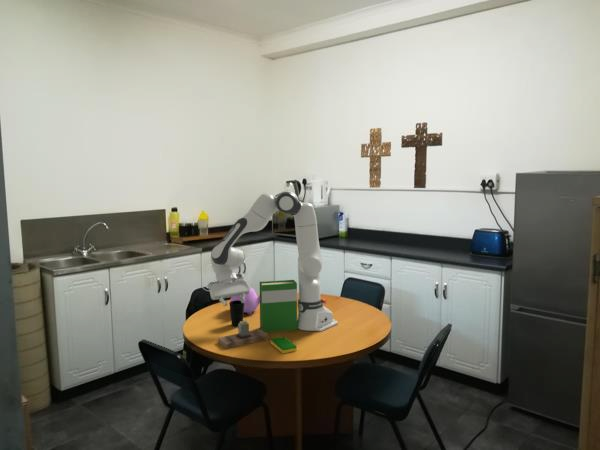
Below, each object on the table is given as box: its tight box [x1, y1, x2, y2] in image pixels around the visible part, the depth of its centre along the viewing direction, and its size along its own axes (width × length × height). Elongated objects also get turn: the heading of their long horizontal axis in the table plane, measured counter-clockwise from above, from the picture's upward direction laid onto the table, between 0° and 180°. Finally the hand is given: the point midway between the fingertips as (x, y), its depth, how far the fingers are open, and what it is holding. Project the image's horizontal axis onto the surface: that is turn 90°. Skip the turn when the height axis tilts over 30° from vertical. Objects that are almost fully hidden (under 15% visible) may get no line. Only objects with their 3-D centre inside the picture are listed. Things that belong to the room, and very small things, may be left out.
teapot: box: [229, 286, 260, 315], centre depth 258 cm, size 20×20×15 cm
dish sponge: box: [270, 336, 298, 354], centre depth 210 cm, size 7×14×2 cm, turn 27°
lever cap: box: [237, 319, 250, 339], centre depth 217 cm, size 4×3×8 cm
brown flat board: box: [217, 328, 270, 350], centre depth 217 cm, size 22×9×2 cm, turn 123°
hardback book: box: [259, 279, 298, 333], centre depth 232 cm, size 18×7×24 cm, turn 103°
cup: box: [229, 300, 245, 328], centre depth 238 cm, size 8×8×12 cm
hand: (234, 303), depth 225 cm, fingers open, 8 cm apart
